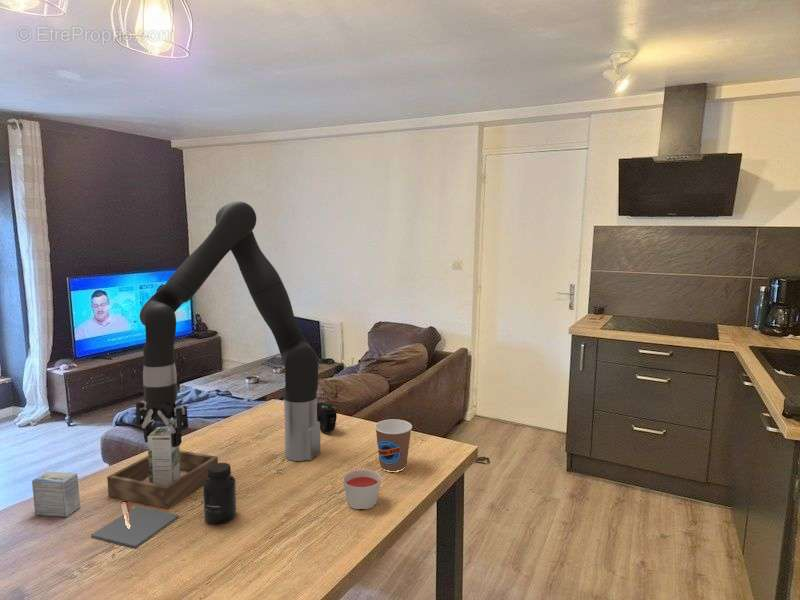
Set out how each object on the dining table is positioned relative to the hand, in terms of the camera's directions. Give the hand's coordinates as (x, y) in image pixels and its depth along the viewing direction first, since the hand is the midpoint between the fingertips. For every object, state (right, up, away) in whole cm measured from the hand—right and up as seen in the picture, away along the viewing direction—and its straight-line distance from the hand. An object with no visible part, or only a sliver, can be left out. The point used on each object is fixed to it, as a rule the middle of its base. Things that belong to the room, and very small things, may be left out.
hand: (162, 443), depth 126 cm
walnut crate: (0, -11, +1) cm, 11 cm away
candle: (+51, -12, -7) cm, 53 cm away
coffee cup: (+58, -10, +12) cm, 60 cm away
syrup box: (0, -11, +1) cm, 11 cm away
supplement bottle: (+20, -13, -13) cm, 27 cm away
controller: (+36, -7, +38) cm, 52 cm away
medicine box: (-19, -13, -11) cm, 25 cm away
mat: (+3, -13, -17) cm, 22 cm away
